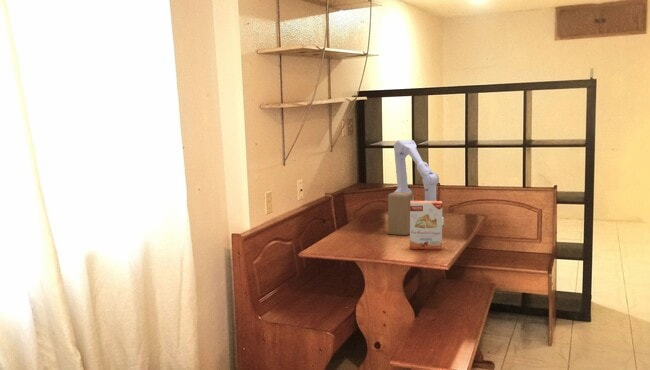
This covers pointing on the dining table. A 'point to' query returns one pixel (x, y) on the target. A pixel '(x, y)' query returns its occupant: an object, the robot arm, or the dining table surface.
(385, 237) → the dining table surface
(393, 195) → the wooden block
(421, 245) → the cracker box
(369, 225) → the dining table surface
